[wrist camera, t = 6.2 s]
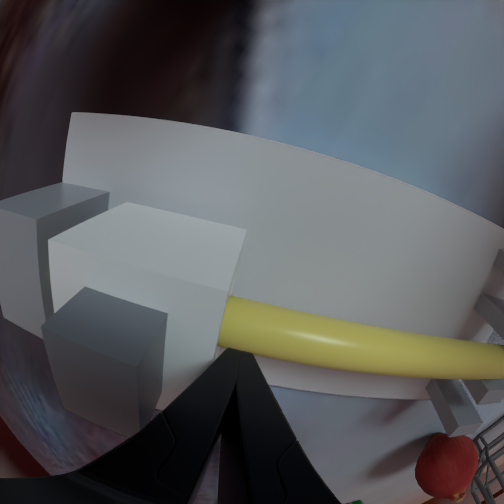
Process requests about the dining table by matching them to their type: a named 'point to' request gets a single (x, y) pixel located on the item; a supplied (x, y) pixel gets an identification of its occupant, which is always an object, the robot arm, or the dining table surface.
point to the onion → (447, 466)
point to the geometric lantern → (490, 463)
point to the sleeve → (136, 310)
